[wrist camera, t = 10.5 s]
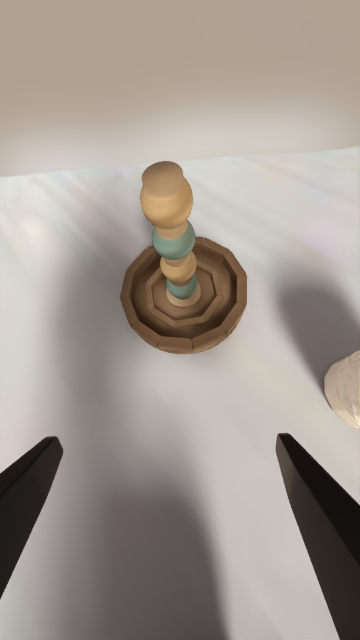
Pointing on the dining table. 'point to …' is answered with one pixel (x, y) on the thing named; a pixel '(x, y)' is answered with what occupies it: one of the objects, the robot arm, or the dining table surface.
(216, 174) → the dining table surface
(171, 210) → the post
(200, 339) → the groove tray
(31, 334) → the dining table surface
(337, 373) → the white cup
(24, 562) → the dining table surface
